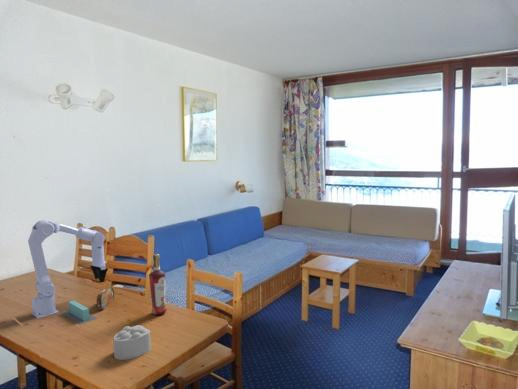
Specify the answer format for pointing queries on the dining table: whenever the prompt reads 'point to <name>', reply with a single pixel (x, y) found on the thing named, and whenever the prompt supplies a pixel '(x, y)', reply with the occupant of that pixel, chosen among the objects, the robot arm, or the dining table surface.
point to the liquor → (157, 288)
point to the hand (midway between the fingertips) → (99, 280)
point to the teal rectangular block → (78, 310)
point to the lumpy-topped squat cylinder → (131, 342)
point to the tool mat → (78, 318)
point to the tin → (105, 298)
